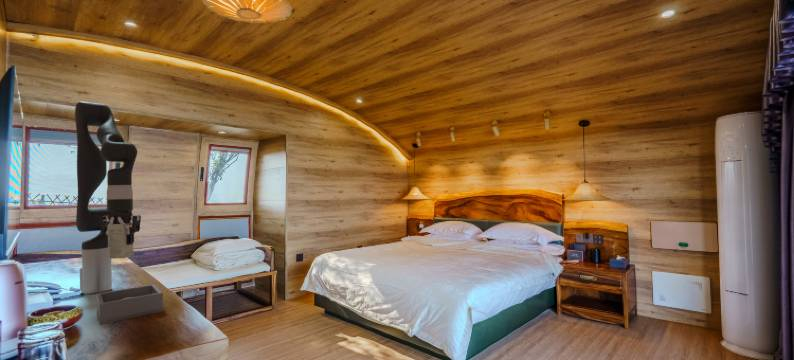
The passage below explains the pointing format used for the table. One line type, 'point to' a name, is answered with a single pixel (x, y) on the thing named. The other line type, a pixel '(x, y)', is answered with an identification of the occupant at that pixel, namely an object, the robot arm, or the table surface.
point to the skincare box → (118, 242)
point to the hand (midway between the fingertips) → (120, 244)
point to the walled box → (129, 303)
